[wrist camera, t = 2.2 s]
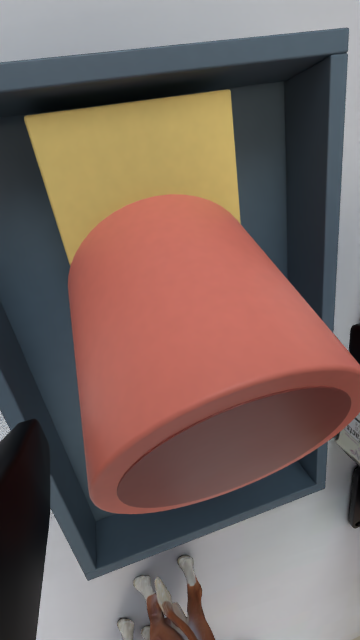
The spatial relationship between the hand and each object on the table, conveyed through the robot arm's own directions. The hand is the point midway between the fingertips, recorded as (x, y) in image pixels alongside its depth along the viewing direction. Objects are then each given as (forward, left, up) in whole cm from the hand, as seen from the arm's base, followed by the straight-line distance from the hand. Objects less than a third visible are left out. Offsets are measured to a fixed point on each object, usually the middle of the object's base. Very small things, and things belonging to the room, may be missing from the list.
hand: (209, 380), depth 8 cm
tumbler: (0, 0, -6) cm, 6 cm away
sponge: (+5, 0, -6) cm, 8 cm away
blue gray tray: (-2, 0, -6) cm, 6 cm away
